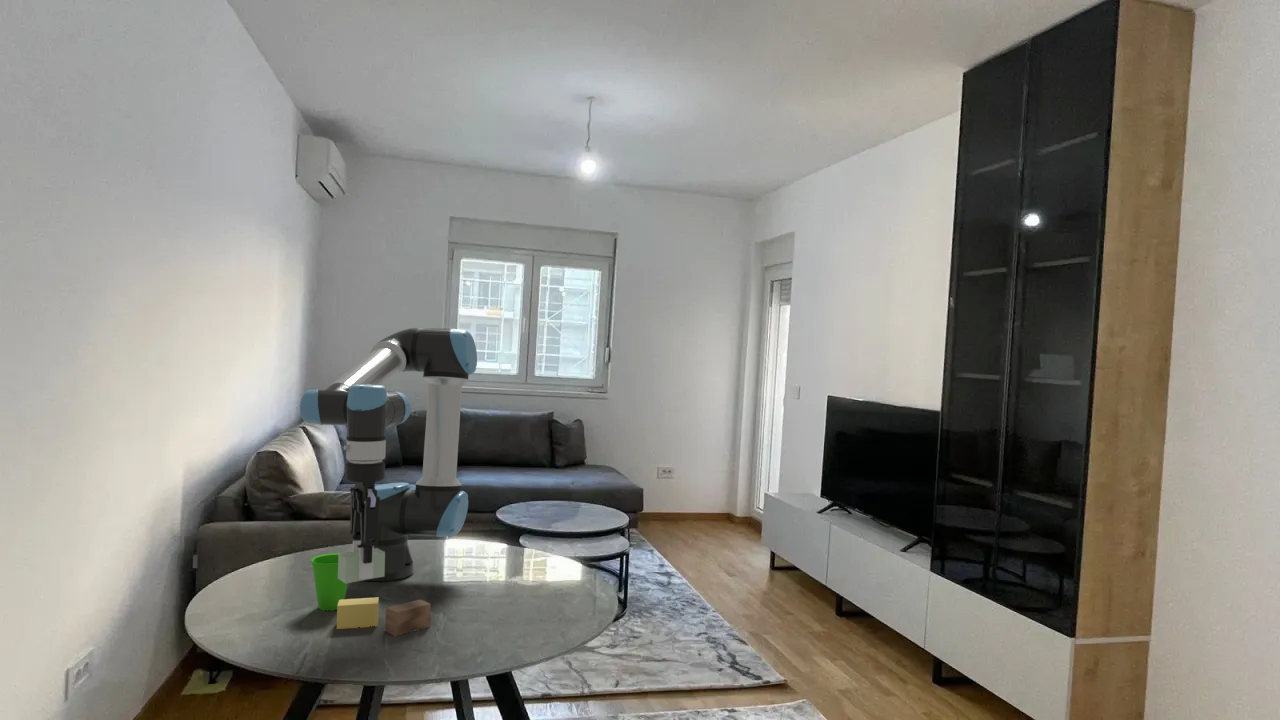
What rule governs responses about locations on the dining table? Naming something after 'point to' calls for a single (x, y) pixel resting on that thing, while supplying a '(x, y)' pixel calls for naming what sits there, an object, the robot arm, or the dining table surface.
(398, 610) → the walnut brick
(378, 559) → the sage brick
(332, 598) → the cup
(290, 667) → the dining table surface
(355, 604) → the mustard brick
